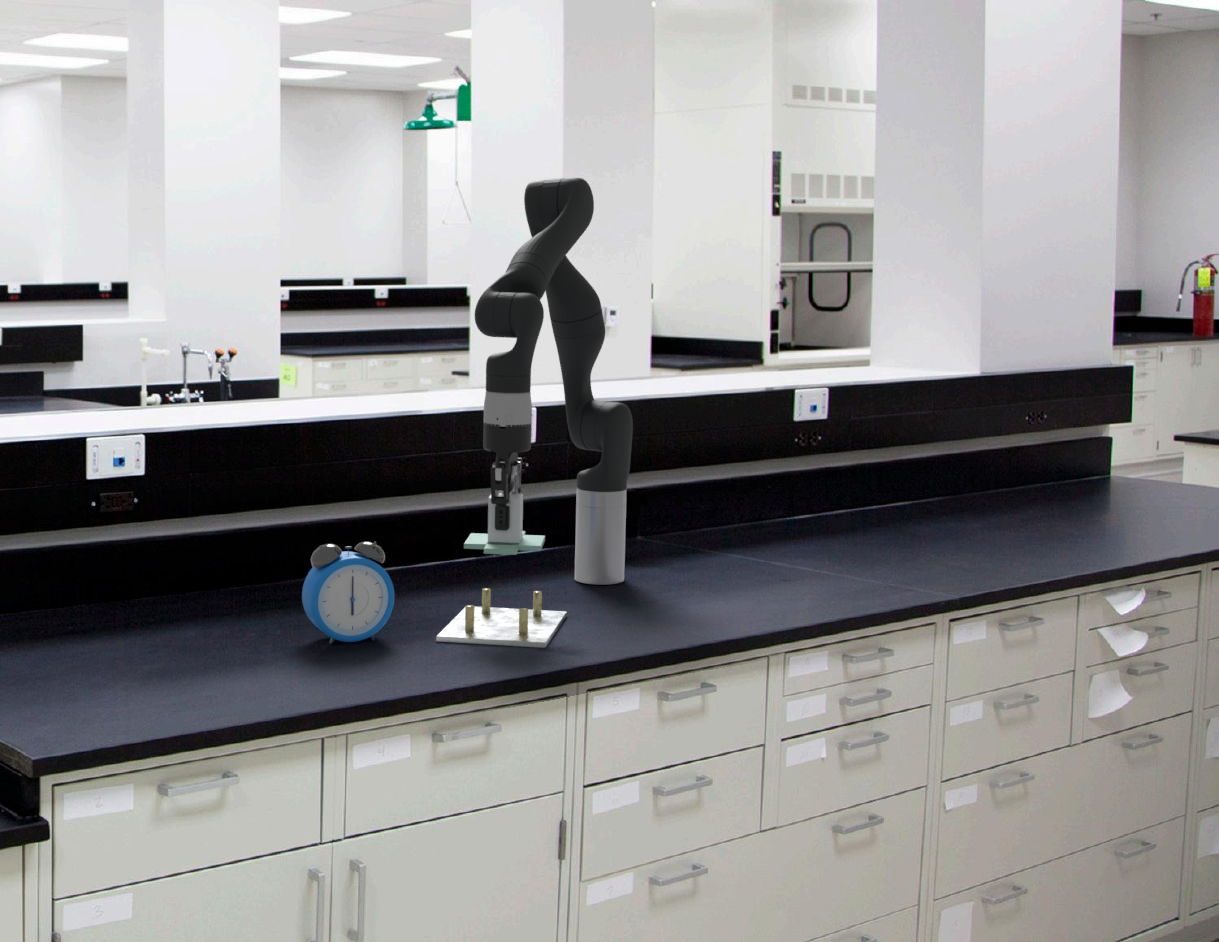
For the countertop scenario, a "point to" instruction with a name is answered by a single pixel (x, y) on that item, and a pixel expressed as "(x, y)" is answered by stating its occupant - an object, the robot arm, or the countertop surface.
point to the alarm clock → (348, 592)
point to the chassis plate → (503, 624)
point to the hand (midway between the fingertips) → (505, 526)
